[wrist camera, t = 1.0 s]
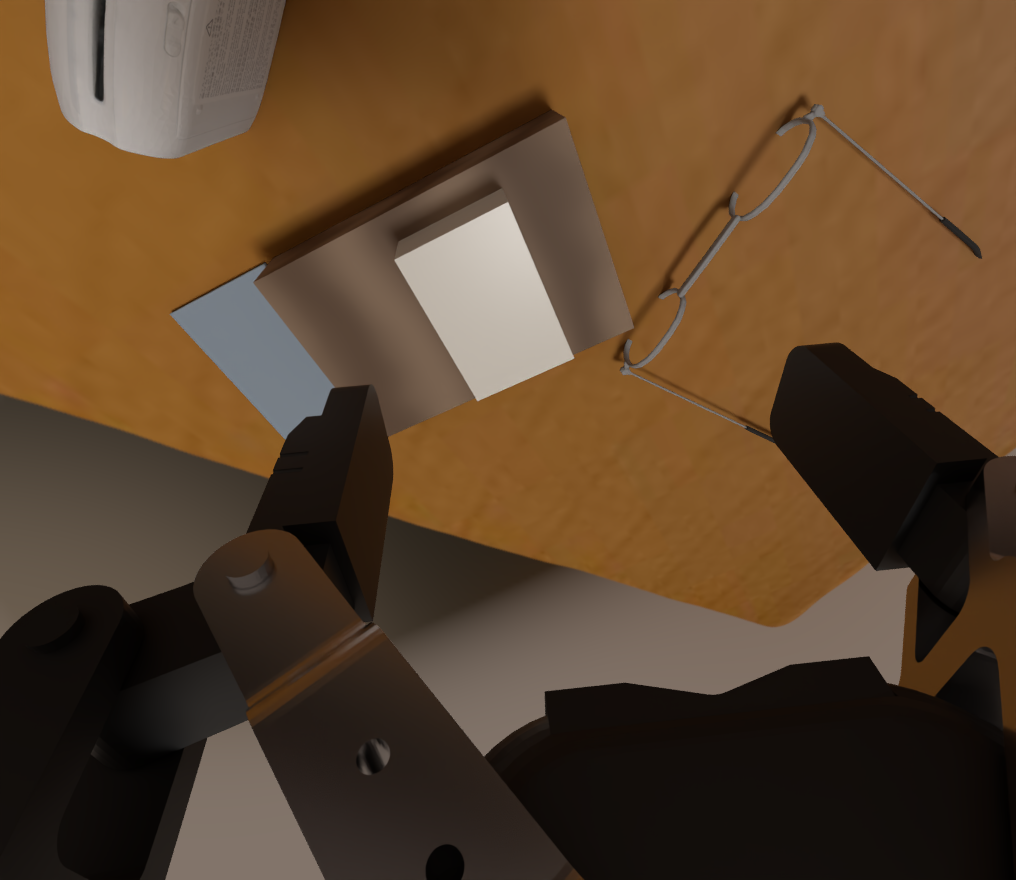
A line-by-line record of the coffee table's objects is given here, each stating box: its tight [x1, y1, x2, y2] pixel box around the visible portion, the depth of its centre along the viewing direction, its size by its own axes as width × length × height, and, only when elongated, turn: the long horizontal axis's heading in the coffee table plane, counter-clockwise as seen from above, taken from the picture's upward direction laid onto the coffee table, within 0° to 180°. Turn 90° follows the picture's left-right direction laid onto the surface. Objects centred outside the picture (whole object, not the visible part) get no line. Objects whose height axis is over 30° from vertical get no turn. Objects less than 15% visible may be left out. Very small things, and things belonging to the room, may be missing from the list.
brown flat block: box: [253, 110, 634, 436], centre depth 32 cm, size 18×12×4 cm, turn 115°
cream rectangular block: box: [394, 188, 574, 401], centre depth 29 cm, size 6×9×3 cm, turn 24°
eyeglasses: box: [620, 104, 982, 443], centre depth 36 cm, size 18×19×4 cm
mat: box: [170, 262, 335, 440], centre depth 35 cm, size 7×11×1 cm, turn 24°
